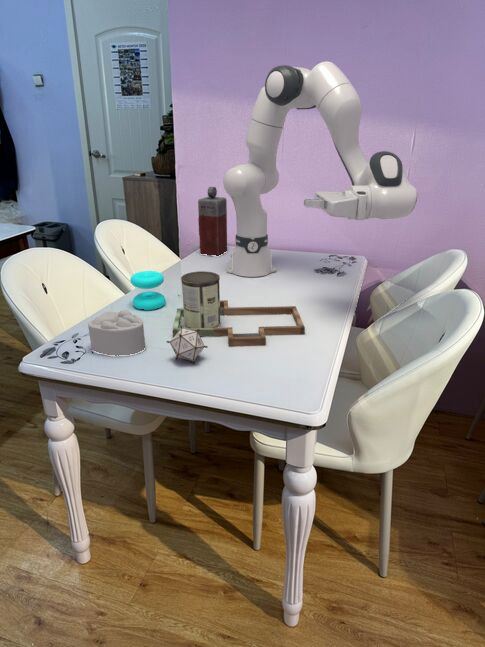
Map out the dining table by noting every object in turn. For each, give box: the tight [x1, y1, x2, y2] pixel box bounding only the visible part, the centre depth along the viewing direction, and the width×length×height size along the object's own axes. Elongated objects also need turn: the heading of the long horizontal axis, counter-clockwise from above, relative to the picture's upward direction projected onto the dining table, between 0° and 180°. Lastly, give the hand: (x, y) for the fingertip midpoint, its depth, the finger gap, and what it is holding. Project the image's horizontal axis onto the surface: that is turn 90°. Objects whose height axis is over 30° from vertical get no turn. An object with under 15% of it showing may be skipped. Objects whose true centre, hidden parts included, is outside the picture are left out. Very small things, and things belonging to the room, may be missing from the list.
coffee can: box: [180, 270, 222, 328], centre depth 124 cm, size 10×10×14 cm
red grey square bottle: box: [197, 186, 228, 256], centre depth 191 cm, size 9×11×28 cm
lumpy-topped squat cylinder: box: [87, 309, 146, 356], centre depth 112 cm, size 10×13×9 cm
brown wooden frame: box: [172, 299, 306, 347], centre depth 126 cm, size 27×35×2 cm
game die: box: [165, 324, 209, 365], centre depth 106 cm, size 9×8×10 cm
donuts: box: [129, 270, 167, 311], centre depth 138 cm, size 10×10×10 cm
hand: (304, 203), depth 121 cm, fingers closed
